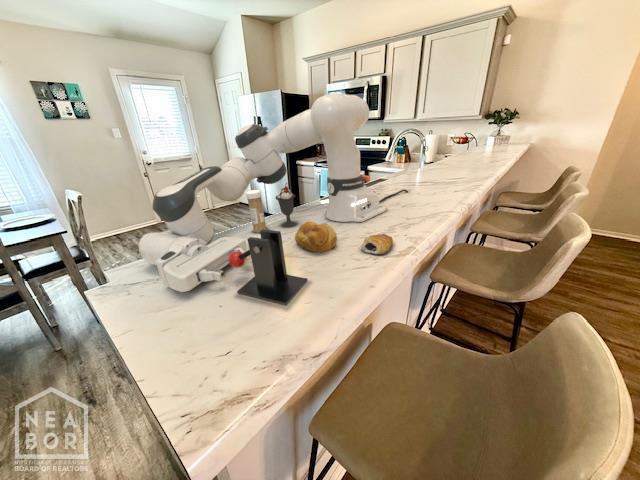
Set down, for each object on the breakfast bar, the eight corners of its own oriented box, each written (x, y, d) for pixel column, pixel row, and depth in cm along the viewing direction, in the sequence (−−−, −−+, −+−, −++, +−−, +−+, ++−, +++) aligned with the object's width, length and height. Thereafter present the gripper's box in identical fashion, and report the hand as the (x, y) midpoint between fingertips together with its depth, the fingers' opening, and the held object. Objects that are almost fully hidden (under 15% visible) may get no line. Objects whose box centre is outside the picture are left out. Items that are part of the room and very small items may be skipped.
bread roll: (288, 246, 76) (284, 220, 72) (313, 235, 82) (310, 210, 78) (319, 260, 67) (316, 231, 64) (344, 246, 73) (343, 219, 70)
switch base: (238, 295, 55) (224, 240, 50) (263, 274, 63) (253, 224, 57) (286, 308, 50) (277, 248, 45) (308, 283, 58) (302, 229, 52)
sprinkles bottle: (269, 230, 88) (262, 191, 82) (256, 234, 86) (248, 193, 80) (263, 226, 91) (257, 188, 86) (251, 230, 89) (243, 191, 84)
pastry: (377, 238, 76) (377, 226, 74) (399, 244, 72) (399, 231, 70) (359, 251, 70) (358, 238, 68) (381, 258, 66) (382, 244, 64)
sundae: (293, 228, 88) (288, 184, 82) (276, 227, 90) (269, 183, 84) (301, 221, 93) (297, 179, 87) (285, 220, 96) (279, 179, 89)
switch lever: (231, 272, 57) (222, 259, 57) (242, 264, 60) (233, 251, 60) (270, 252, 50) (259, 236, 49) (280, 244, 53) (270, 229, 52)
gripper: (224, 249, 74) (265, 257, 69) (158, 289, 57) (204, 304, 52) (219, 228, 71) (261, 235, 66) (148, 264, 55) (196, 277, 49)
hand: (236, 266), depth 59 cm, fingers open, 7 cm apart
